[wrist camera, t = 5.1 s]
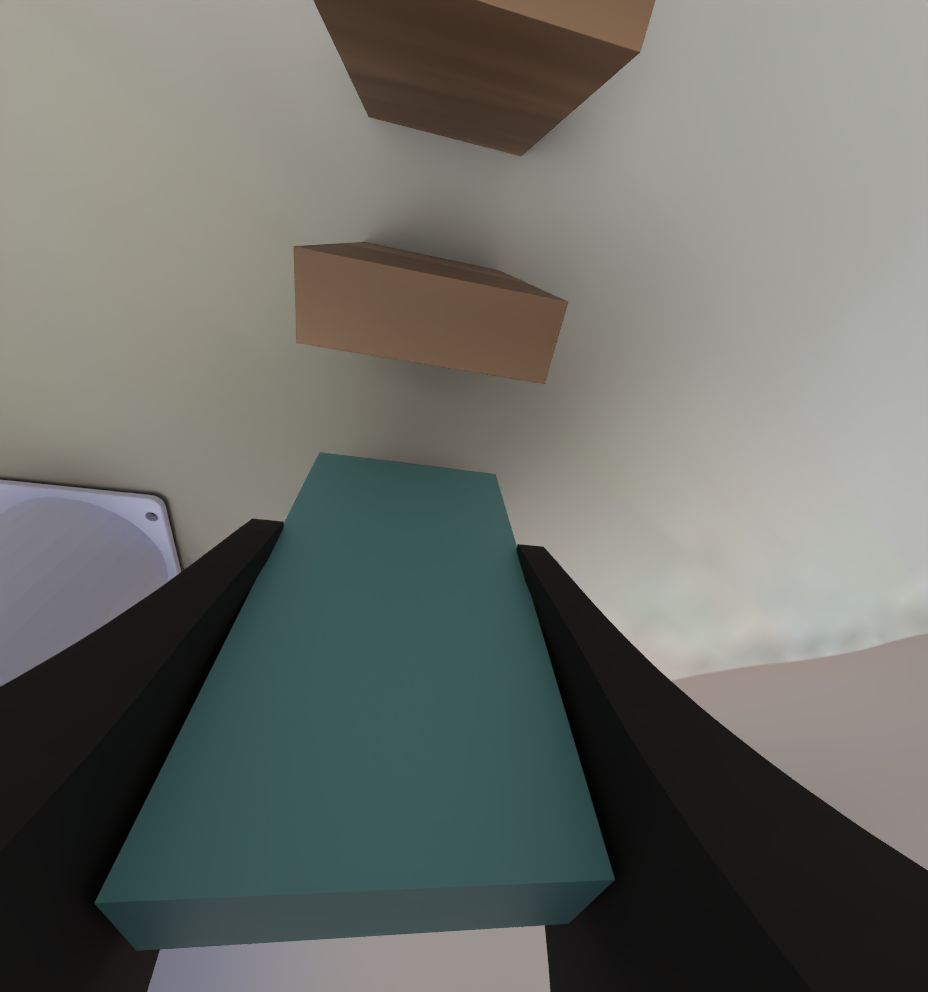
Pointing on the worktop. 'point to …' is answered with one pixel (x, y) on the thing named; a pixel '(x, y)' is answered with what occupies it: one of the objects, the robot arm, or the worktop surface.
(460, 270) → the domino
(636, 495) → the worktop surface
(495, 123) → the domino
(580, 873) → the teal domino
